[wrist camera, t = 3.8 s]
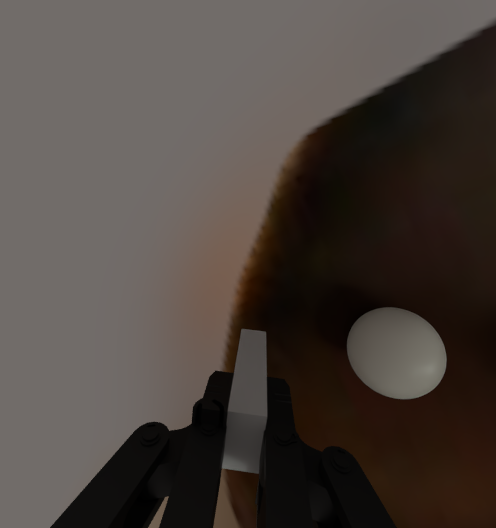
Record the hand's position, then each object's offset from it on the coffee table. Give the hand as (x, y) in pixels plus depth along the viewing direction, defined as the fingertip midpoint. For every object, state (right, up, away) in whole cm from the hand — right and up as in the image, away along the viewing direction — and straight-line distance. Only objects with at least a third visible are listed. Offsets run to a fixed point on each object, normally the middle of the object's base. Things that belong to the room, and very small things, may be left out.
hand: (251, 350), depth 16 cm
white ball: (+10, -1, +2) cm, 10 cm away
